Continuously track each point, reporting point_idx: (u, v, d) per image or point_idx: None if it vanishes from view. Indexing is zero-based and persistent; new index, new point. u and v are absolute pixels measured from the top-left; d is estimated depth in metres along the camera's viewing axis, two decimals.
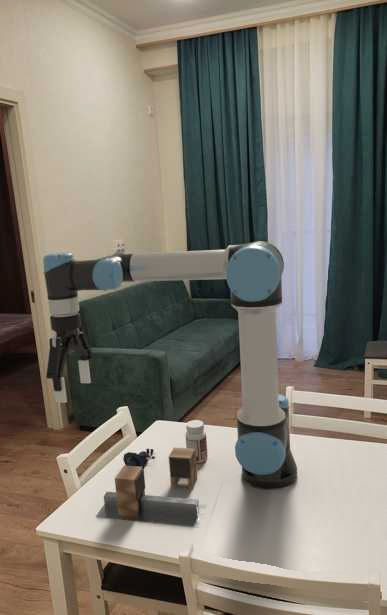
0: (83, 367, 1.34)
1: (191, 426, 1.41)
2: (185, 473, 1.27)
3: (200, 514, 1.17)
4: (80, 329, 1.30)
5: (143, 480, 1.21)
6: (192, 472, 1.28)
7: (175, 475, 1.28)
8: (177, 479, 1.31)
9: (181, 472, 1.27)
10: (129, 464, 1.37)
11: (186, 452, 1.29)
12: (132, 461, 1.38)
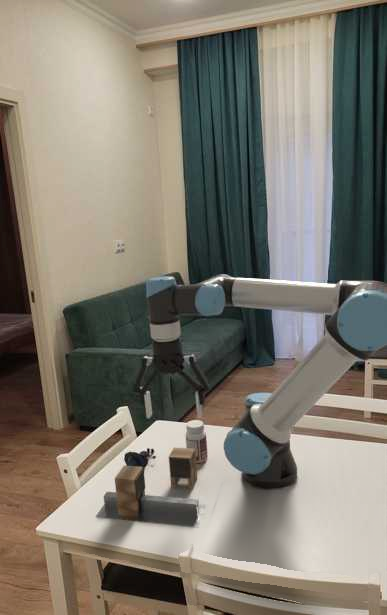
0: None
1: (191, 426, 1.41)
2: (185, 473, 1.27)
3: (200, 514, 1.17)
4: None
5: (143, 480, 1.21)
6: (192, 472, 1.28)
7: (175, 475, 1.28)
8: (177, 479, 1.31)
9: (181, 472, 1.27)
10: (130, 463, 1.38)
11: (186, 452, 1.29)
12: (133, 460, 1.38)
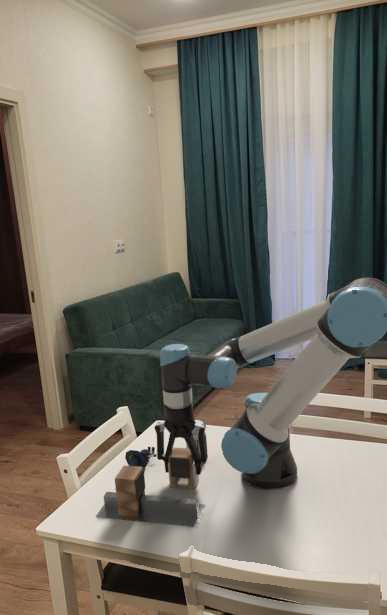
0: None
1: None
2: (185, 473, 1.27)
3: (200, 514, 1.17)
4: (199, 429, 1.26)
5: (143, 480, 1.21)
6: (192, 472, 1.28)
7: (175, 475, 1.28)
8: (177, 479, 1.31)
9: (181, 472, 1.27)
10: (131, 462, 1.38)
11: (186, 452, 1.29)
12: (134, 459, 1.39)
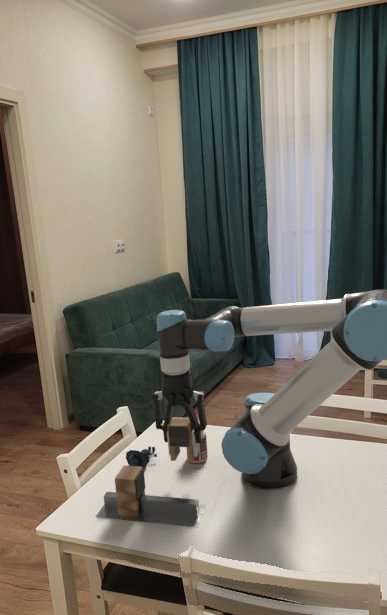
0: None
1: None
2: (184, 441, 1.25)
3: (200, 514, 1.17)
4: (198, 396, 1.24)
5: (143, 480, 1.21)
6: (191, 441, 1.26)
7: (174, 444, 1.26)
8: (176, 449, 1.29)
9: (180, 441, 1.25)
10: (131, 462, 1.39)
11: (185, 421, 1.27)
12: (134, 459, 1.39)
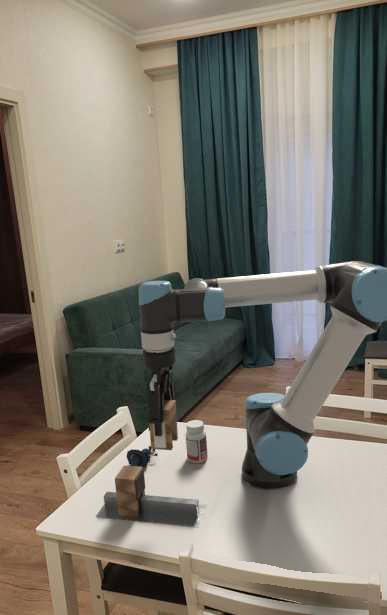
0: None
1: (191, 426, 1.41)
2: None
3: (200, 514, 1.17)
4: None
5: (143, 480, 1.21)
6: None
7: None
8: None
9: None
10: (132, 461, 1.39)
11: None
12: (135, 458, 1.39)
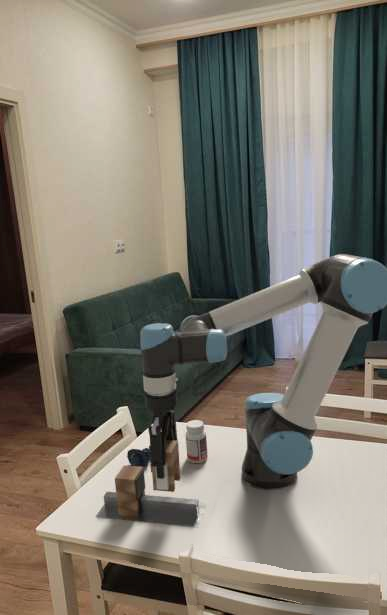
0: None
1: (191, 426, 1.41)
2: None
3: (200, 514, 1.17)
4: None
5: (143, 480, 1.21)
6: None
7: None
8: None
9: None
10: (133, 460, 1.39)
11: None
12: (136, 457, 1.39)
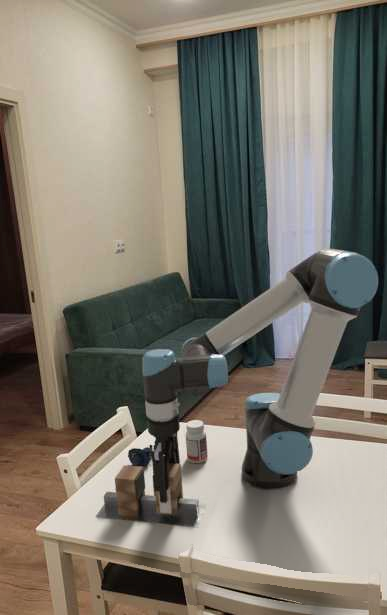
0: None
1: (191, 426, 1.41)
2: None
3: (200, 514, 1.17)
4: None
5: (143, 480, 1.21)
6: (158, 493, 1.15)
7: None
8: None
9: None
10: (134, 460, 1.40)
11: None
12: (137, 457, 1.40)
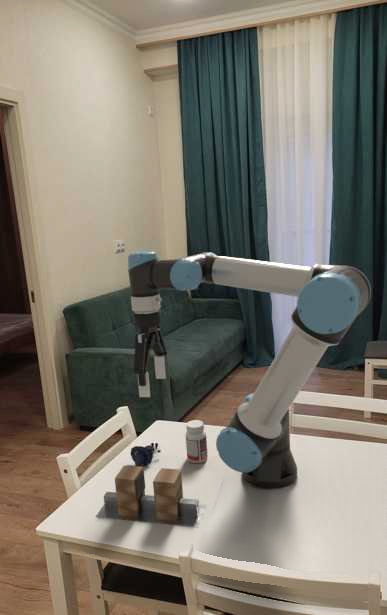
0: None
1: (191, 426, 1.41)
2: None
3: (200, 514, 1.17)
4: None
5: (143, 480, 1.21)
6: (158, 499, 1.15)
7: None
8: None
9: None
10: (137, 457, 1.41)
11: (167, 478, 1.16)
12: (140, 455, 1.41)
